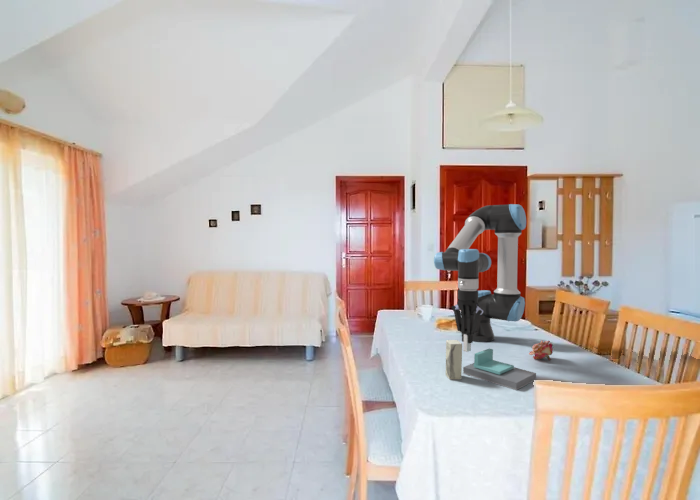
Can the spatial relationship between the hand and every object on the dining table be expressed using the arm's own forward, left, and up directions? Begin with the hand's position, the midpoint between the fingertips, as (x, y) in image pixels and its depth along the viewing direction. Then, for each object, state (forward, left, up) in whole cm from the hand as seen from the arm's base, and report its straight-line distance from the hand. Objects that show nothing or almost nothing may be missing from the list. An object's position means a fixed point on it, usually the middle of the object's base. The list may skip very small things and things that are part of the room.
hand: (467, 350), depth 149 cm
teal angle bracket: (+11, 0, -4) cm, 12 cm away
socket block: (+13, 0, -6) cm, 14 cm away
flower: (+14, +31, -7) cm, 35 cm away
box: (+3, -13, -7) cm, 15 cm away
